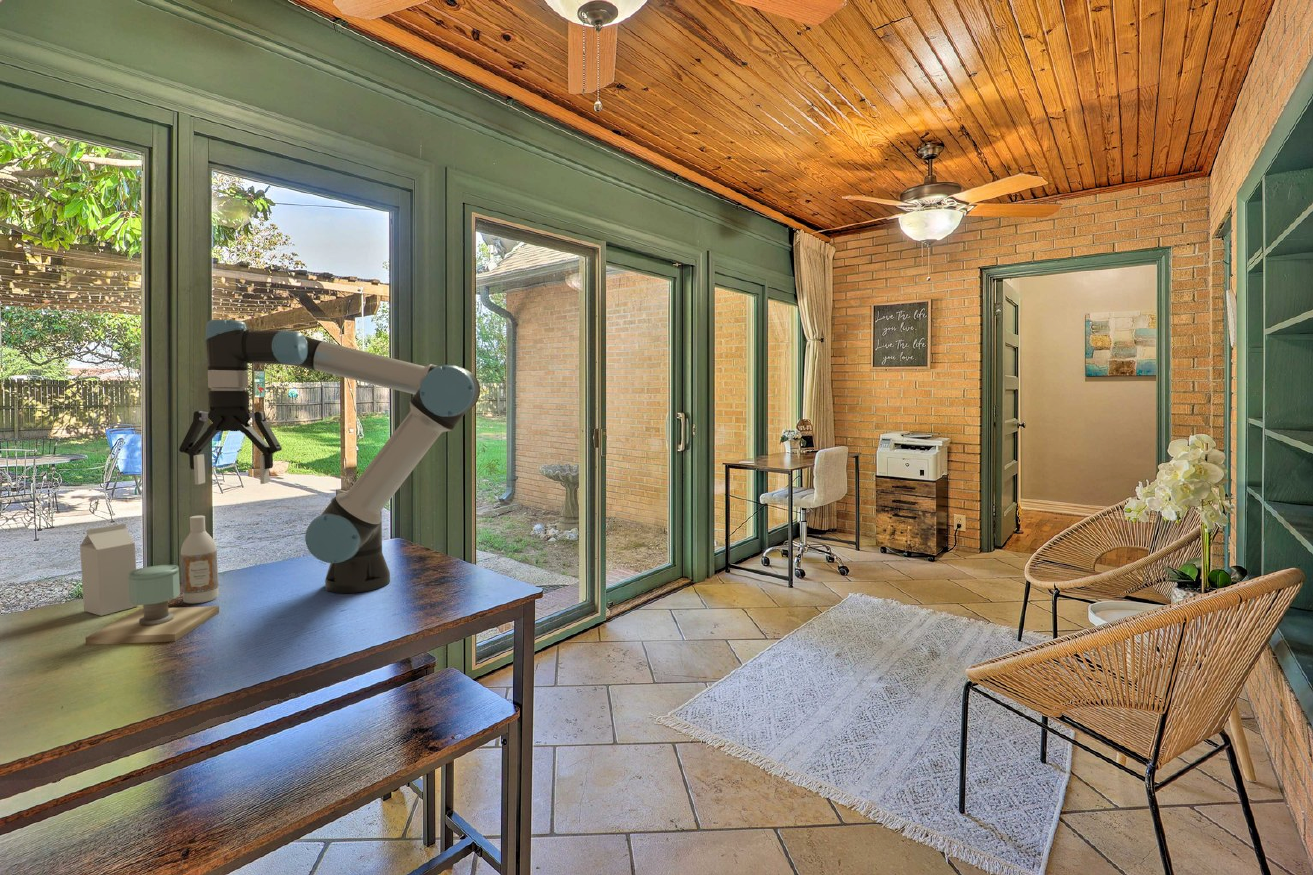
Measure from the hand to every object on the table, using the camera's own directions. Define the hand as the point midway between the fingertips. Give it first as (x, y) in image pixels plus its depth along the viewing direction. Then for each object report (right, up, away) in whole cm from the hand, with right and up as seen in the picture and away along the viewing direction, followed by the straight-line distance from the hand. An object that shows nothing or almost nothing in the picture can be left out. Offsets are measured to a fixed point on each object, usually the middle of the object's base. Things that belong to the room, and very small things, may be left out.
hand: (232, 483), depth 143 cm
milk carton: (-27, -29, 0) cm, 40 cm away
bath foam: (-12, -28, +7) cm, 32 cm away
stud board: (-9, -30, -11) cm, 33 cm away
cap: (-9, -23, -11) cm, 27 cm away
